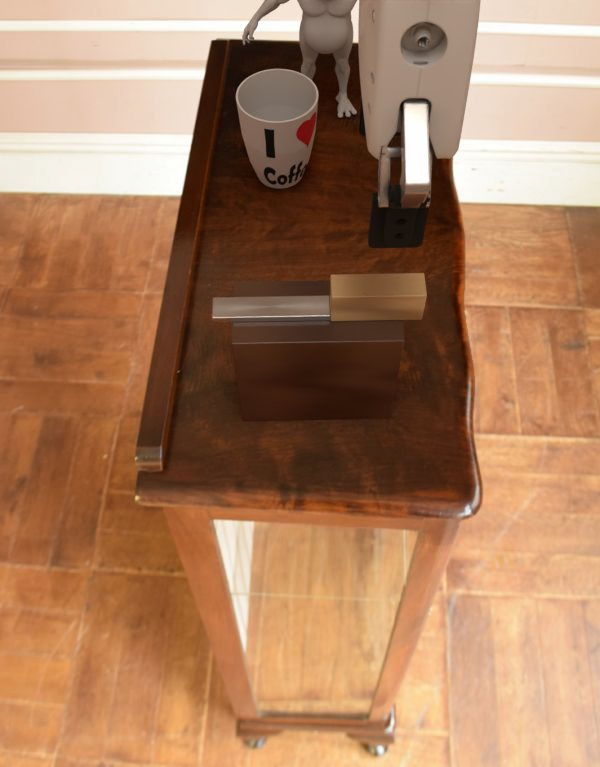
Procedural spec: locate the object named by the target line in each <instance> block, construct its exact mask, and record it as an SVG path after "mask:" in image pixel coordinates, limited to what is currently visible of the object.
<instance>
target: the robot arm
mask: <svg viewBox="0 0 600 767" xmlns="http://www.w3.org/2000/svg"><path fill="white" fill-rule="evenodd" d="M480 11H481V0H359V1H358V24H357V25H358V26H357V28H358V30H357V31H358V32H357V33H358V36H357V37H358V38H357V39H358V40H357V41H358V42H357V44H358V45H357V47H358V49H357V50H358V66H359V68H358V69H359V82H360V103H359V115H358V133H359V134H360V136H362V137H365V139H366V147H367V148H366V149H367V151H368V153H370V155H371V156H372V157H374V158H375V159H376V160H377V161H378V163H377V164H378V166H377V167H378V168H377V170H378V172H377V192H371V202H370V211H369V213H370V214H369V222H368V232H367V244H368V247H369V248H371V249H413V248H414V249H415V248H420V247H421V246H422V245H423V243H424V237H425V232H426V227H427V222H428V216H429V211H430V206H431V201H432V197H431V196H432V175H433V173H432V172H433V155H435V157H436V159H437V160H438V159H441V160H442V159H446V160H450V159H451V160H452V158H453V157H454V156H455V155H456V154H457V153H458V151H459V148H460V143H461V139H462V138H461V137H462V133H463V126H464V120H465V113H466V107H467V101H468V96H469V90H470V84H471V77H472V72H473V65H474V59H475V50H476V44H477V38H478V37H477V36H478V28H479V20H480ZM394 137H400V145H389V144H390V142H391V141H392V139H393V138H394ZM392 159H401V171H400V172H401V173H400V179H399V183H398V184H396V183H395V184H394V183H393V184H391V160H392Z"/></svg>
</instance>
